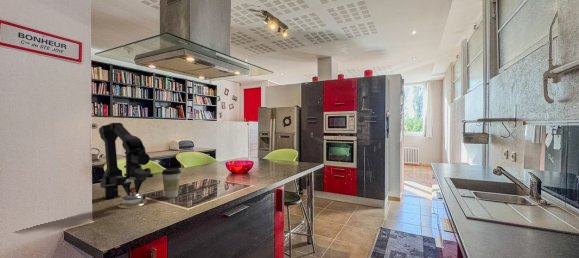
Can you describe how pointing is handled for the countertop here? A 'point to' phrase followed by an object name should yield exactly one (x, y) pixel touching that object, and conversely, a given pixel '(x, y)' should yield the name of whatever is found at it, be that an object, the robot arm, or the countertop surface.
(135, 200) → the press pot
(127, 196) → the plunger
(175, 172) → the coffee cup
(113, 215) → the countertop surface
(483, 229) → the countertop surface
